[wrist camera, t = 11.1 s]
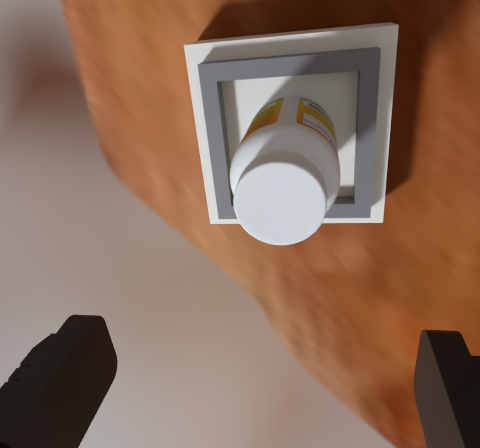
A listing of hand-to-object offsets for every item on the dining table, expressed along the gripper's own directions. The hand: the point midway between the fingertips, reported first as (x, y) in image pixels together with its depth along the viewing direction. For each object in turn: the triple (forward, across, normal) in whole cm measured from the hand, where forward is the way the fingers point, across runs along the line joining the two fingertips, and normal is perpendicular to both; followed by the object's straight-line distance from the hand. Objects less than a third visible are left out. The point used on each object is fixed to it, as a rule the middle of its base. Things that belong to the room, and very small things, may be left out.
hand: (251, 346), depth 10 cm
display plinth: (+21, 0, 0) cm, 21 cm away
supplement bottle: (+18, 0, 0) cm, 18 cm away
